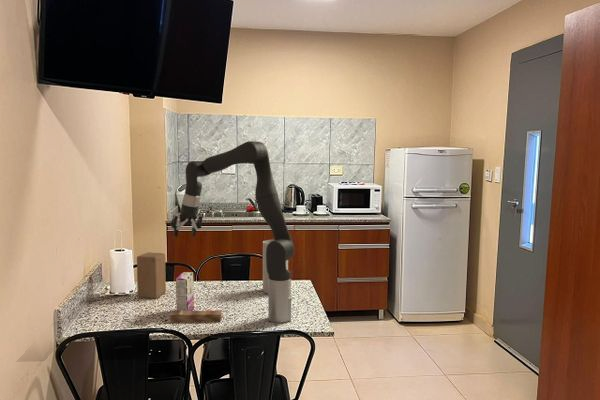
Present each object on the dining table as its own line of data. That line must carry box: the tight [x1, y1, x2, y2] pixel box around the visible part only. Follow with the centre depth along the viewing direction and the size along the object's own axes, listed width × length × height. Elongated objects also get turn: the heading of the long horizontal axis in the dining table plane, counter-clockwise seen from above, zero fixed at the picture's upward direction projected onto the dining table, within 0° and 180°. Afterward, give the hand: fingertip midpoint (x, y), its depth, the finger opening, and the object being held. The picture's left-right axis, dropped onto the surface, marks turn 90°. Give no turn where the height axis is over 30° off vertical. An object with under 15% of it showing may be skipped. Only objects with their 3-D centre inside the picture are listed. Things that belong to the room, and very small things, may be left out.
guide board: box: [169, 309, 223, 323], centre depth 191 cm, size 20×5×3 cm, turn 94°
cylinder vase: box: [262, 239, 289, 295], centre depth 231 cm, size 12×12×25 cm
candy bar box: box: [175, 271, 195, 311], centre depth 199 cm, size 11×5×16 cm, turn 179°
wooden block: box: [136, 251, 167, 300], centre depth 222 cm, size 10×10×20 cm
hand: (184, 236), depth 217 cm, fingers open, 8 cm apart
